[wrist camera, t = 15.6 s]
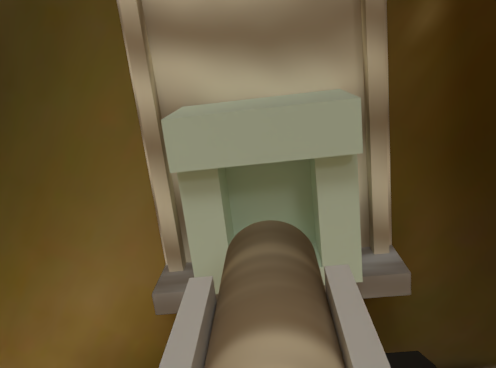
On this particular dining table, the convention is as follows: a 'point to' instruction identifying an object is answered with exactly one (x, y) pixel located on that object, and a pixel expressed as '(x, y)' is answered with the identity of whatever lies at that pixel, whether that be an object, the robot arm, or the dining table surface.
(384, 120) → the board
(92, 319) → the dining table surface
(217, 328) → the dowel
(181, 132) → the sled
